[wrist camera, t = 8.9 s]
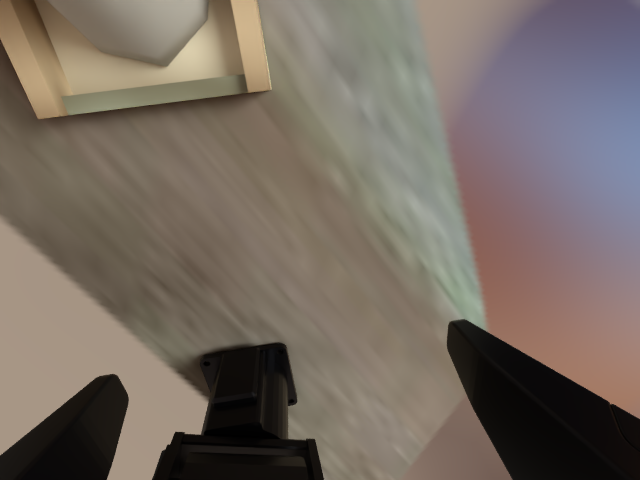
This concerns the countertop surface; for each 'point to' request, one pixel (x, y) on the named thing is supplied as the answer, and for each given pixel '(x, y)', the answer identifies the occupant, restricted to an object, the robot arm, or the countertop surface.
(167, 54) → the flask
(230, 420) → the robot arm
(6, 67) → the countertop surface
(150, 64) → the tray
